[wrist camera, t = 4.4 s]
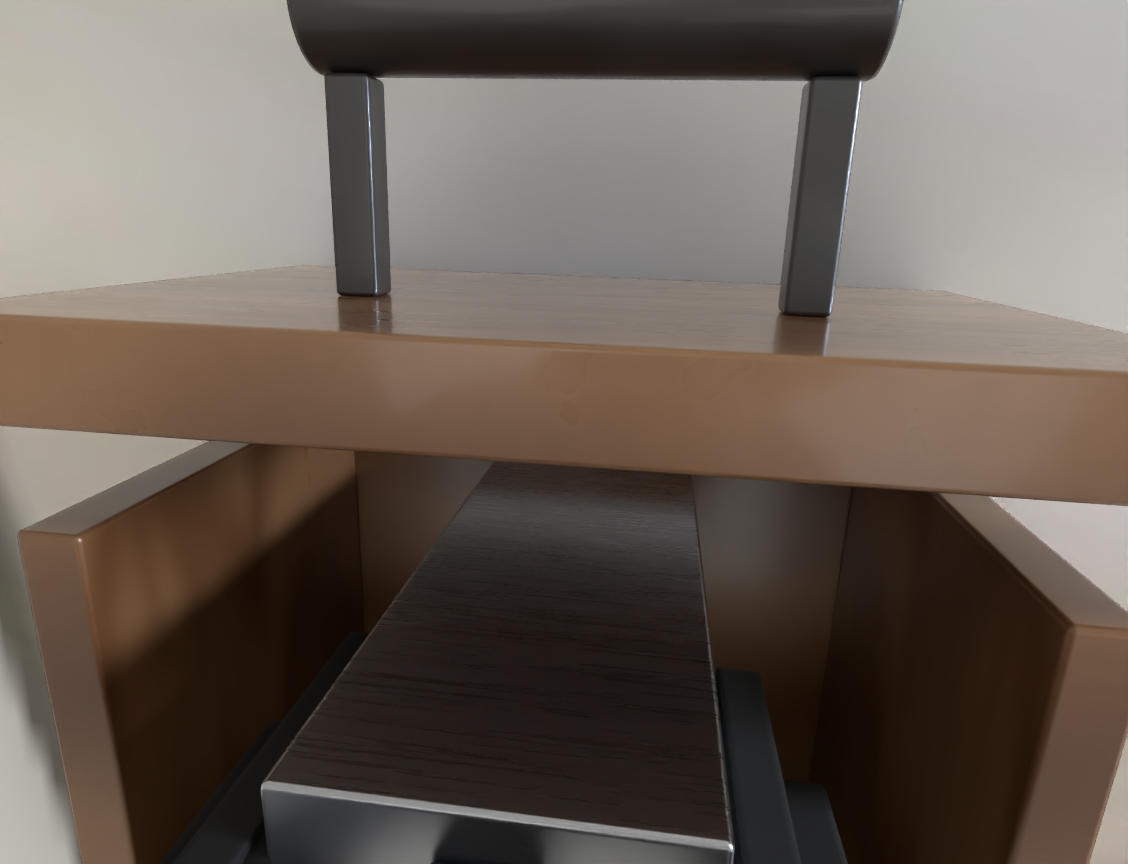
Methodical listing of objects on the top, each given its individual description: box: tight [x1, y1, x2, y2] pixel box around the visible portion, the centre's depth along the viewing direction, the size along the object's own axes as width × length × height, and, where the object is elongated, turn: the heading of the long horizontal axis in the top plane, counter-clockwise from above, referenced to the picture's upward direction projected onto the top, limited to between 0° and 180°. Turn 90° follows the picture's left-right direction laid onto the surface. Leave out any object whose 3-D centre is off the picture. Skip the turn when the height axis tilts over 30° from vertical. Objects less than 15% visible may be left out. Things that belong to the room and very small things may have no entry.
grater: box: [261, 461, 735, 864], centre depth 11 cm, size 6×4×11 cm, turn 178°
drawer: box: [0, 0, 1128, 864], centre depth 12 cm, size 19×13×9 cm
